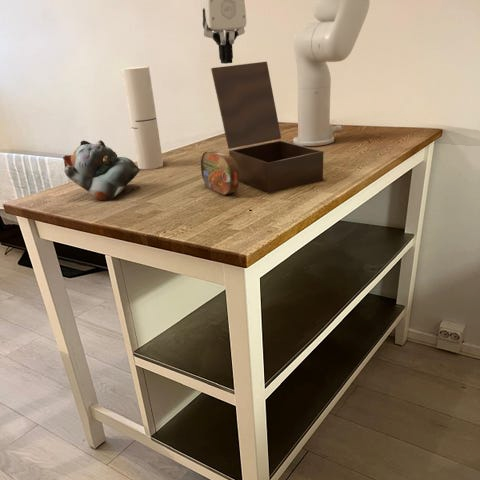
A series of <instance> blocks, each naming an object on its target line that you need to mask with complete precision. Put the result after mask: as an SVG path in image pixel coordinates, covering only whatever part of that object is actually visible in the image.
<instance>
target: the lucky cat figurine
mask: <svg viewBox="0 0 480 480" xmlns="http://www.w3.org/2000/svg"><path fill="white" fill-rule="evenodd" d="M62 159H63V164H64V169H63V172H64V174H65V176H66V177H67V178H68V179H69V180H70V181H72V182H73V183H75V184H76V185H77V186H78V187H80V188H82V189H84V190H85V191H87V192H88V193H90V194H91V195H92V197H93V198H94V199H95V200H98V201H100V202H101V201H112V200H113V199H114V198H115V197H116V196H118V195H119V194H120V193H121V192H123V190H124V189H125V188H126V186H127V185H128V184H130V182H131V181H132V180H134V179H135V177H136V176H137V175H138V173H140V171H141V169H139V168H138V165H137V164H136V163H135V162H134V161H133V160H132V159H131V158H128V157H126V156H120V157H119V156H118V153H116V151H114V150H113V148H111V147H109V146H107V145H106V144H105V142H104V141H103V140H102V139H100V140H99V139H98V140H97V141H96V142H95V143H92V142H89V141H87V140H81V141H80V143H79V145H78V146H77V147H76V149H75V150H74V151H73V153H72V154H70V155H69V154H68V155H67V154H65V155H63V156H62Z"/></svg>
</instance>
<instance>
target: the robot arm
mask: <svg viewBox="0 0 480 480" xmlns="http://www.w3.org/2000/svg"><path fill="white" fill-rule="evenodd" d="M370 3H371V0H314V2H313V5H312V6H313V8H312V11H313V12H312V13H313V15H314V18H315V19H316V20H317V22H310V23H305V24H304V25H302V26H301V27H300V28H299V29H298V30H297V31H296V33H295V36H294V39H293V51H294V57H295V63H296V71H297V72H296V73H297V136H295V137H293V140H292V143H293V144H297V145H300V146H304V147H319V146H320V147H321V146H325V145H330V144H332V143H334V142H335V136H334V135H333V134H334V133H340V132H342V130H343V126H342V125H341V124H338V125H334V126H333V124H330V118H331V86H332V85H331V84H332V83H331V82H332V81H331V80H332V79H331V72H330V69H329V67H328V64H327V63H336V62H337V63H339V62H342V61H344V60H346V59H347V58H348V57H349V56H350V55H351V53H352V51H353V49H354V48H355V45H356V43H357V40H358V37H359V35H360V32H361V31H362V28H363V25H364V23H365V21H366V18H367V15H368V12H369V9H370ZM200 9H201V24H202V28H203V36H204V37H205V38H209V39H212V40H213V41H214V42H215V44H216V45H217V46H218V56H219V60H220V63H221V64H223V65H224V64H226V65H227V64H233V60H234V59H233V58H234V52H233V51H234V50H233V45H234V44H235V41H236V39H237V38H238V37H239V36H241V35H244V34H245V32H246V30H245V28H246V26H247V9H246V3H245V0H201V1H200Z"/></svg>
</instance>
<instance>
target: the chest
mask: <svg viewBox="0 0 480 480" xmlns="http://www.w3.org/2000/svg"><path fill="white" fill-rule="evenodd" d="M324 153H325V152H324V150H320V149H316V148H312V147H309V146H300V145H297V144H294V143H293V142H289V141H285V140H282V139H279V140H274V141H269V142H264V143H259V144H254V145H249V146H244V147H239V148H236V149H235V148H234V149H231V150H230V149H228V154H229V156H231V157H233V158H234V159H235V161H236V163H237V165H238V169H239V182H241V183H243V184H245V185H248V186H250V187H253V188H255V189H257V190H260V191H263V192H265V193H266V194H271V193H276V192H281V191H284V190H289V189H292V188H296V187H300V186H305V185H309V184H313V183H317V182H321V181H324Z"/></svg>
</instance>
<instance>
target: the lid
mask: <svg viewBox="0 0 480 480" xmlns="http://www.w3.org/2000/svg"><path fill="white" fill-rule="evenodd" d="M210 71H211V74H212V79H213V84H214V89H215V93H216V99H217V103H218V107H219V112H220V117H221V121H222V126H223V130H224V134H225V135H224V136H225V140H226V145H227V150H230V149H231V150H232V149H235V148H236V149H237V148H242V147H247V146H253V145H258V144H263V143H268V142H273V141H278V140H282V134H281V129H280V124H279V118H278V112H277V108H276V107H277V106H276V102H275V97H274V92H273V86H272V81H271V76H270V71H269V65H268V61H260V62H259V61H257V62H252V63H251V62H250V63H243V64H235V65H226V66H218V67H217V66H216V67H211V68H210Z"/></svg>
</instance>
